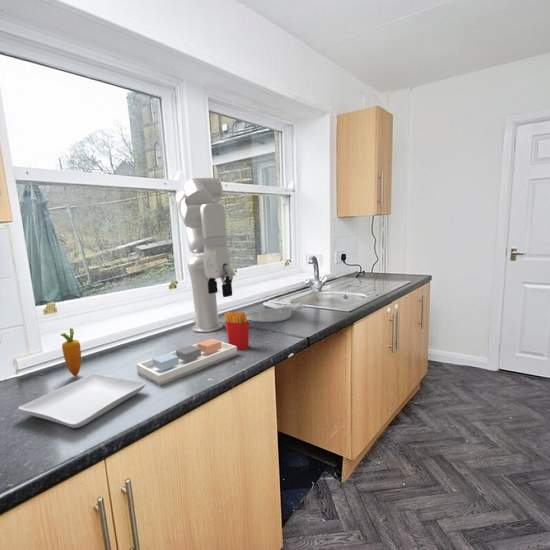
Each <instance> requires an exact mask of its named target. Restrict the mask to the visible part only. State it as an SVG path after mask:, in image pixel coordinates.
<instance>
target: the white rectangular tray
mask: <svg viewBox="0 0 550 550" xmlns="http://www.w3.org/2000/svg"><path fill="white" fill-rule="evenodd" d="M212 339H213V340H215V338H212ZM216 340H217V339H216ZM217 341H220V342H221V349H219V350H216V351H214V352H211V353H208V354H207V353H204V352H201V356H200V357H197V358H195V359H192V360H189V361H187V362H186V361H183V360H181V359H179V364H178V365H176V366H173V367H170V368H168V369H165V370H160V369H158V368H156V367H154V366H153V361H152V358H151V359H148V360H145V361H144V360H143V361H142V362H138V363H136V370H137V372H136V373H137V374H138V375H139V376H142V377H143V378H144V379H147V380H148V381H150V382H151V383H154V384H156V385H158V386H159V387H160V386H163V385H166V384H168V383H171V382H173V381H176V380H178V379H181V378H184V377H185V375H186V376H188V375H191V374H194V373H196V372H198V371H201V370H204V369H205V368H207V367H208V368H209V367H211V366H213V365H215V364H218V363H221V362H224V361H225V360H228V359H231V358H233V357H236V356H238V350H237V346H234V345H231V344H229V342H228V343H226V342H223V341H221V340H217ZM191 346H194V347H197V348H198V346H197V343H196V344H192V345H191ZM170 353H171V354H173V355H176V350H175V351H171V352H170ZM180 377H181V378H180ZM170 381H171V382H170ZM165 383H166V384H165Z"/></svg>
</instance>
